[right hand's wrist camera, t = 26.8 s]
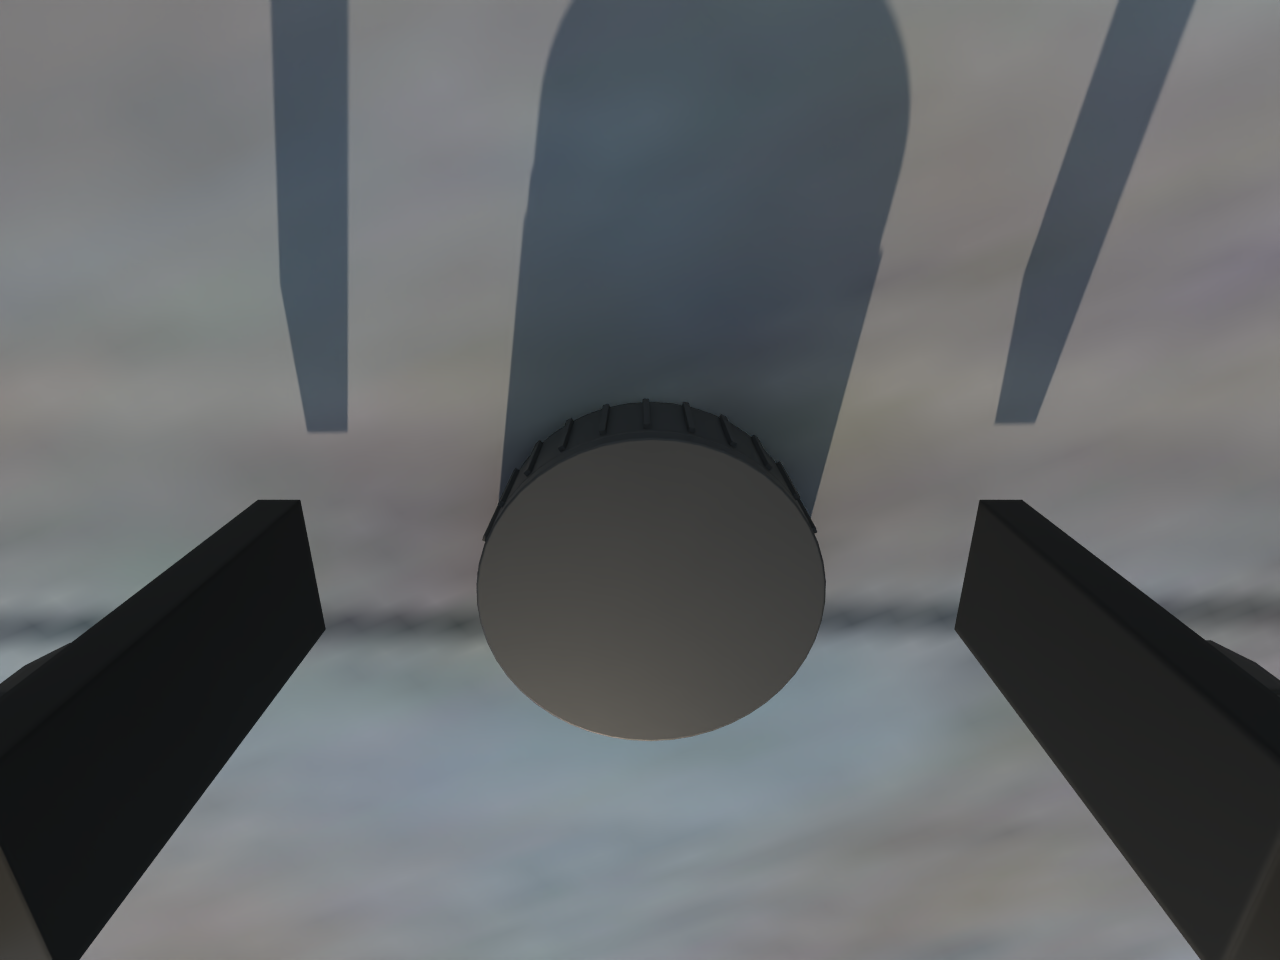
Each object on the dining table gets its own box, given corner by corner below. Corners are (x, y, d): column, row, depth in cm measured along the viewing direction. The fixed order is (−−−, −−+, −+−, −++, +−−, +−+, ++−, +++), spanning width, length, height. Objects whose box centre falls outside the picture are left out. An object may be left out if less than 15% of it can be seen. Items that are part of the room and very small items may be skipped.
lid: (768, 359, 12) (793, 388, 10) (826, 636, 15) (855, 705, 13) (450, 444, 13) (416, 487, 11) (551, 698, 15) (538, 774, 13)
